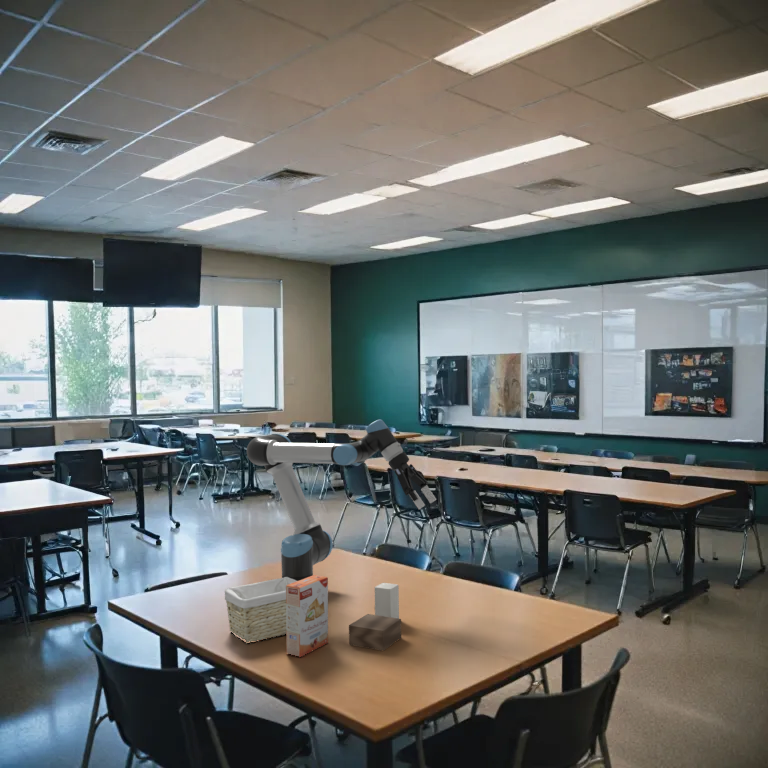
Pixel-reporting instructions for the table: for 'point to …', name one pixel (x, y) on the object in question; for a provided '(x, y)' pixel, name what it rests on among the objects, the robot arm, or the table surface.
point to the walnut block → (375, 631)
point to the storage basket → (258, 609)
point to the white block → (387, 600)
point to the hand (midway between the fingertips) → (428, 504)
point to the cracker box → (306, 615)
